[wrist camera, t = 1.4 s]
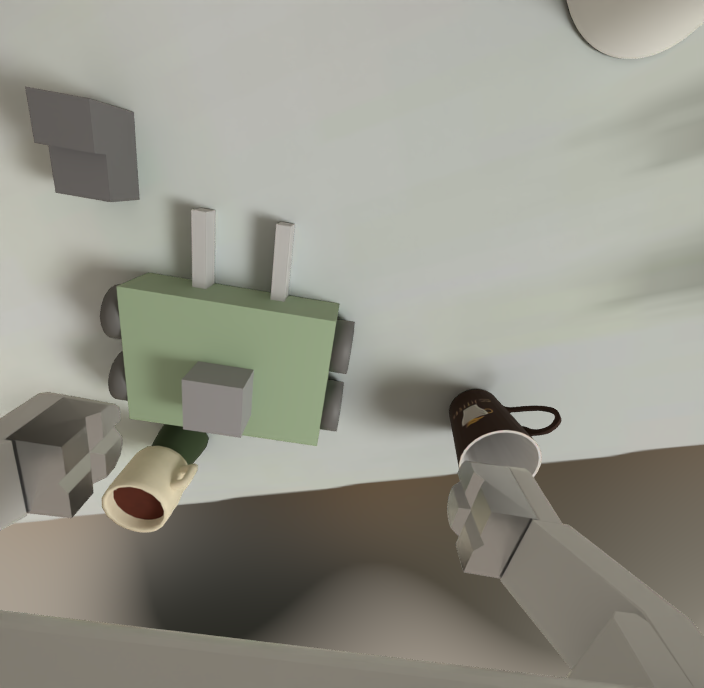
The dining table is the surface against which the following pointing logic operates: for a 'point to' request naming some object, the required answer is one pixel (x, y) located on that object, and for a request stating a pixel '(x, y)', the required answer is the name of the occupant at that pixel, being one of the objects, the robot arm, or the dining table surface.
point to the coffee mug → (495, 432)
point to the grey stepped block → (86, 145)
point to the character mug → (154, 480)
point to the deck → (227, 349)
